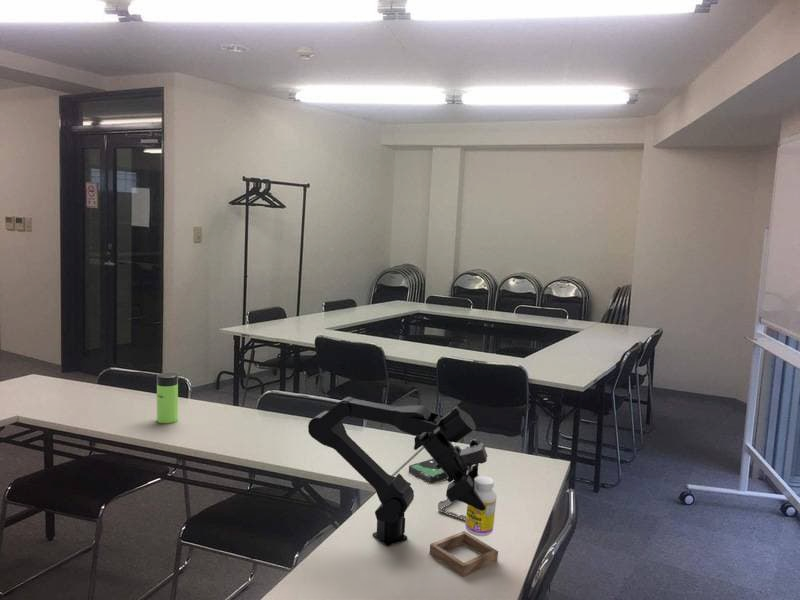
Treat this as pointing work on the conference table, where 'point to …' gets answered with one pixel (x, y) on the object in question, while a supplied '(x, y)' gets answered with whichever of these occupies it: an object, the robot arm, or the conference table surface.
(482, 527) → the supplement bottle
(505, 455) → the conference table surface
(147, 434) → the conference table surface
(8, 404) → the conference table surface
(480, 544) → the brown wooden square frame
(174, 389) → the tumbler
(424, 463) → the disk drive
